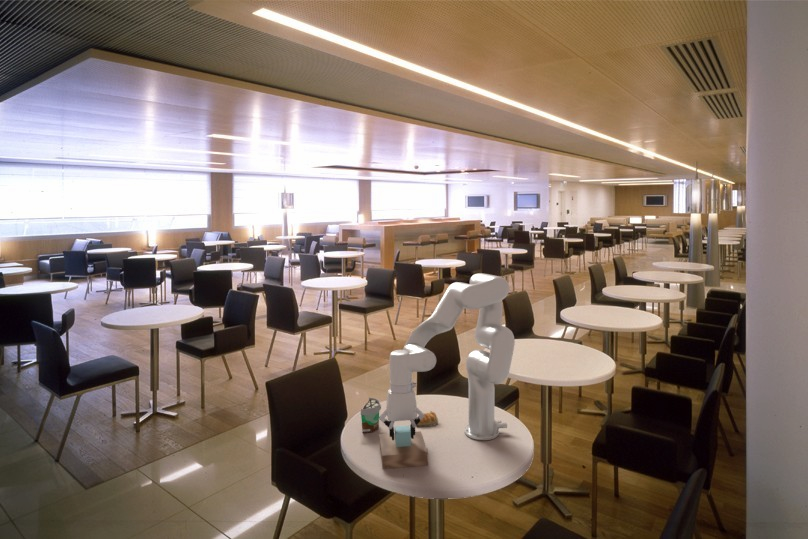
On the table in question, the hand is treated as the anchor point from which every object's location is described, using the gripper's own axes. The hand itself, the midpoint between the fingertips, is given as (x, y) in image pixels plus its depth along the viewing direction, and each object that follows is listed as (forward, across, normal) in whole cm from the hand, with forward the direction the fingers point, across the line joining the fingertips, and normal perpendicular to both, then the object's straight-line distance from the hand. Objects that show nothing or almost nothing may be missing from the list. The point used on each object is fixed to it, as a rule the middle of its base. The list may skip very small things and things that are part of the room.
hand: (402, 437), depth 163 cm
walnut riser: (+7, 0, 0) cm, 7 cm away
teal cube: (+2, 0, 0) cm, 2 cm away
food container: (+7, +9, -22) cm, 25 cm away
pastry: (+7, -12, -24) cm, 28 cm away
